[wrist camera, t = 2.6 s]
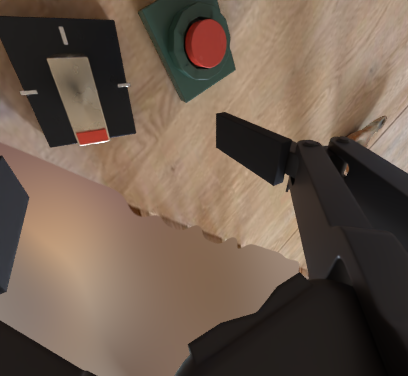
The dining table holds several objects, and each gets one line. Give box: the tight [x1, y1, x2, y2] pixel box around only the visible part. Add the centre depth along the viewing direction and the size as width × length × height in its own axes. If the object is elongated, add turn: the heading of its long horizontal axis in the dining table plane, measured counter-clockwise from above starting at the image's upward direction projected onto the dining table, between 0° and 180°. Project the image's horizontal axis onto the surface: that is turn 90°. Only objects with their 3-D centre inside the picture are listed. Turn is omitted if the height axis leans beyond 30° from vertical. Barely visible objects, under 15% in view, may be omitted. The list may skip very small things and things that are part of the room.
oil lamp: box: [345, 116, 387, 172], centre depth 55 cm, size 9×21×10 cm, turn 125°
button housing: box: [138, 0, 236, 103], centre depth 26 cm, size 11×9×4 cm
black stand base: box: [0, 16, 136, 147], centre depth 24 cm, size 12×11×3 cm
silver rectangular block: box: [47, 53, 110, 146], centre depth 20 cm, size 6×3×9 cm, turn 1°
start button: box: [185, 19, 227, 68], centre depth 25 cm, size 5×5×2 cm
